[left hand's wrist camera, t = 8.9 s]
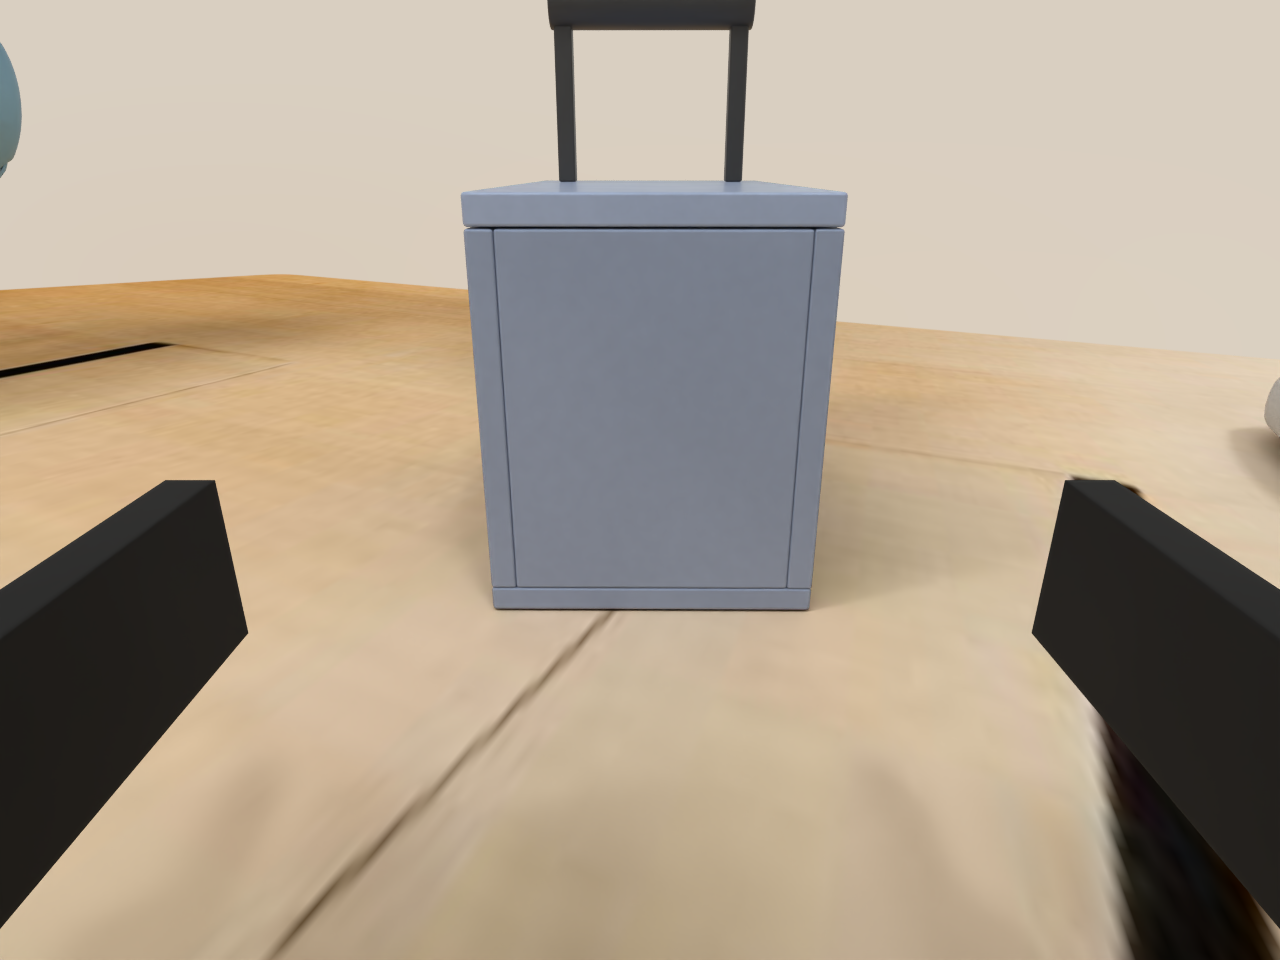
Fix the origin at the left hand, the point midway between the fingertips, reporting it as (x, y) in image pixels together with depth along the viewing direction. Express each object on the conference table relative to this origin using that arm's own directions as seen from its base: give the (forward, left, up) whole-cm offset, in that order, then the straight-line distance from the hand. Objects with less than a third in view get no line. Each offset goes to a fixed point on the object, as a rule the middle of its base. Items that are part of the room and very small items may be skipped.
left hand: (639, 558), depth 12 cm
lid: (+16, -9, +4) cm, 19 cm away
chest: (+16, -9, -7) cm, 20 cm away
